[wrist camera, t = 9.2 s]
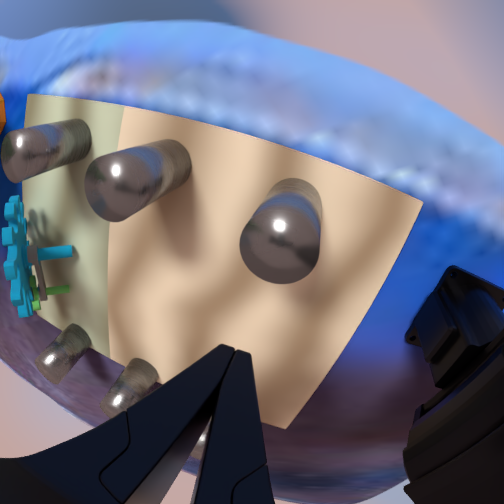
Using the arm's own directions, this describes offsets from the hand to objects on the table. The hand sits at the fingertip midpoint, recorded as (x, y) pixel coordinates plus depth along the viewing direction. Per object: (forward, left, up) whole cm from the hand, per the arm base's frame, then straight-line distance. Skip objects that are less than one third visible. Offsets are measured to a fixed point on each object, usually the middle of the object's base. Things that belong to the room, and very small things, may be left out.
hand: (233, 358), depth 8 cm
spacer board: (+8, +8, -12) cm, 16 cm away
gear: (+19, +9, -12) cm, 24 cm away
